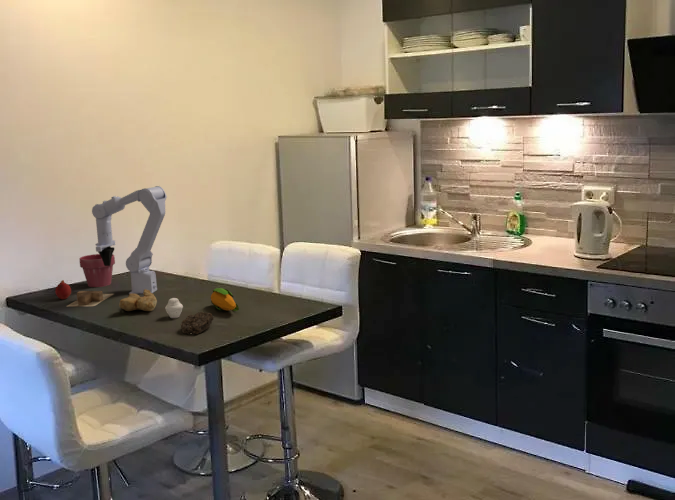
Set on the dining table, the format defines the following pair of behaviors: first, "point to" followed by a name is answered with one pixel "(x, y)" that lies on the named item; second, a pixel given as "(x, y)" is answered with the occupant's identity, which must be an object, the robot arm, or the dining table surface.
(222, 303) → the corn
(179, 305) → the white jar
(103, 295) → the board
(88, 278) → the plant pot
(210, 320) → the dark brown lumpy piece
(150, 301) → the ginger root
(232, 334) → the dining table surface
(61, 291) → the onion
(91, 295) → the t block
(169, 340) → the dining table surface
